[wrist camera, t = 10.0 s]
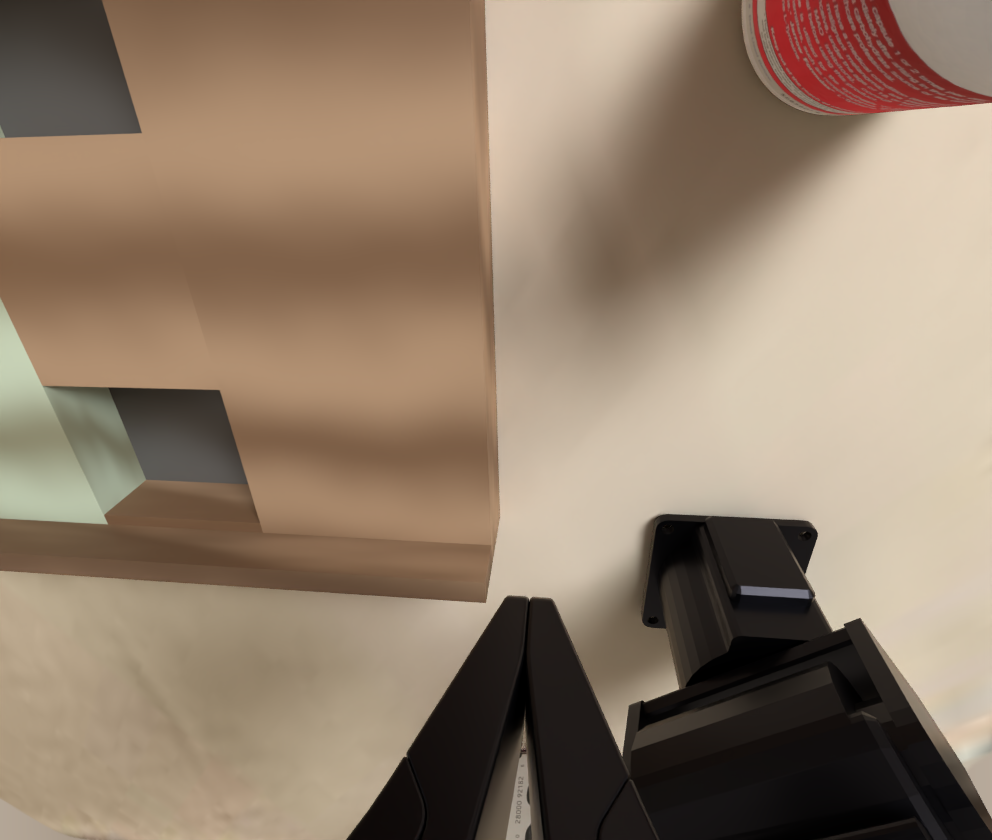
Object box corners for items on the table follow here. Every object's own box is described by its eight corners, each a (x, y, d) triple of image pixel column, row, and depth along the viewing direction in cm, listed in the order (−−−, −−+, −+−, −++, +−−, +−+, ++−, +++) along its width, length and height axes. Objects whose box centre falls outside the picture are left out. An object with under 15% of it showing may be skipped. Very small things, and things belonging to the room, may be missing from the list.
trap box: (499, 517, 24) (485, 602, 19) (6, 493, 27) (-104, 563, 22) (478, -226, 13) (435, -410, 9) (-355, -138, 16) (-709, -243, 11)
